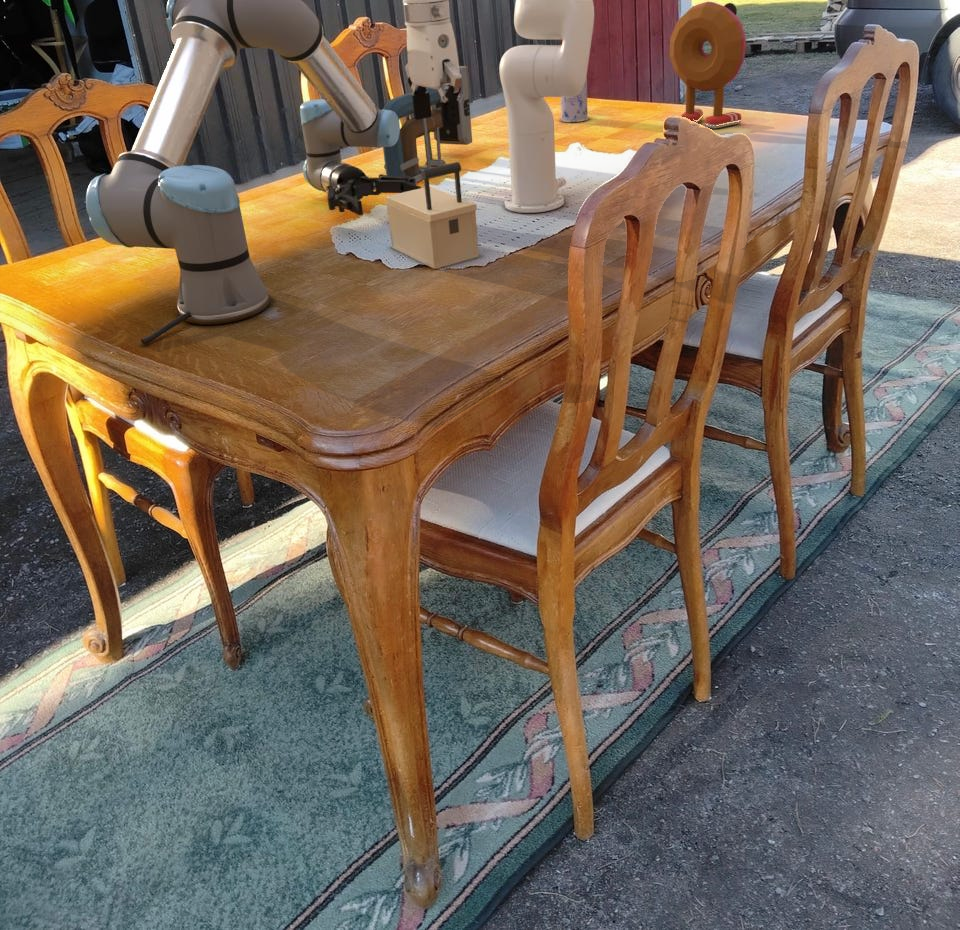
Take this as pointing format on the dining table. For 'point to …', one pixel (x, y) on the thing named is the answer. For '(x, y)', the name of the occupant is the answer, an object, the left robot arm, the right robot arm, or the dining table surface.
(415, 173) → the clamp
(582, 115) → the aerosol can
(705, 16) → the toy
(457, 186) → the lid
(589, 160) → the dining table surface
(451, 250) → the chest
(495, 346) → the dining table surface
